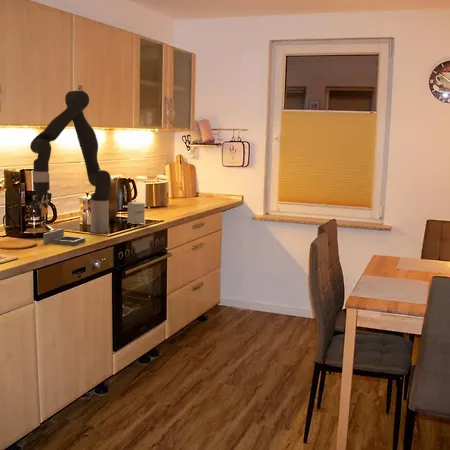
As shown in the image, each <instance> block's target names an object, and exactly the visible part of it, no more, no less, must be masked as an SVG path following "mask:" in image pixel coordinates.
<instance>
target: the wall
mask: <svg viewBox="0 0 450 450" xmlns="http://www.w3.org/2000/svg"><path fill="white" fill-rule="evenodd" d="M64 230H65V229H64V228H58V229H55V230H52V231H48V232H44V233H43V234H42V235H43V239H42V240H43V245H47V244H50V243H51V244H52V243H53V239H56V238H60V237H63V236H65V231H64Z"/></svg>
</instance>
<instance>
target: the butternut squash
mask: <svg viewBox="0 0 450 450" xmlns="http://www.w3.org/2000/svg"><path fill="white" fill-rule="evenodd" d="M117 202H118V201H117V184H116V181H115V179H113V178H111V189H110V195H109V210H108V214H109V221H110V220H111V221H112V220H114V219H116V217H117V216H118V213H119V208H118V207H119V206H118V203H117Z"/></svg>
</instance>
